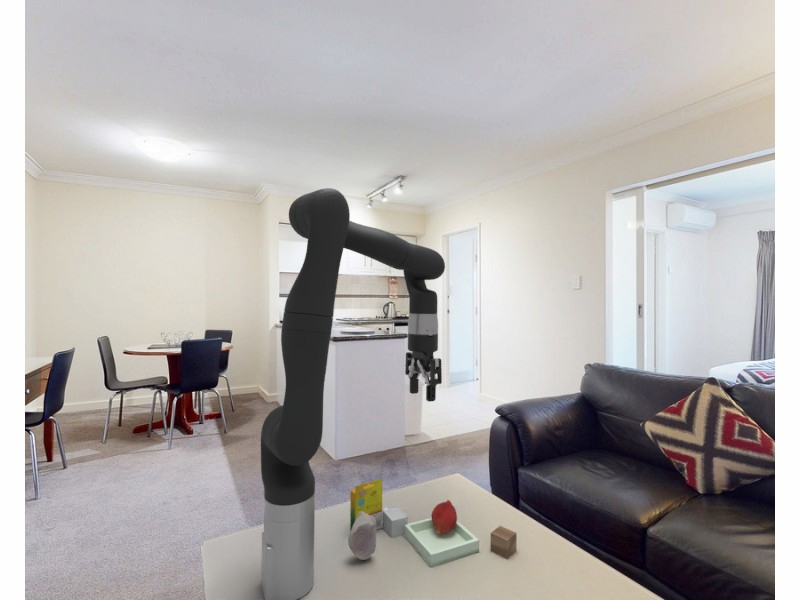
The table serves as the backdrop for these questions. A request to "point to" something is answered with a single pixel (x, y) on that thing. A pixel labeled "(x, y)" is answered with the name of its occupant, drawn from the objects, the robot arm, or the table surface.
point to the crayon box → (367, 502)
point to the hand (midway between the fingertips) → (422, 397)
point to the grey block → (394, 521)
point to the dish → (440, 542)
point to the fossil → (363, 536)
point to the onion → (444, 517)
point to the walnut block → (503, 542)
